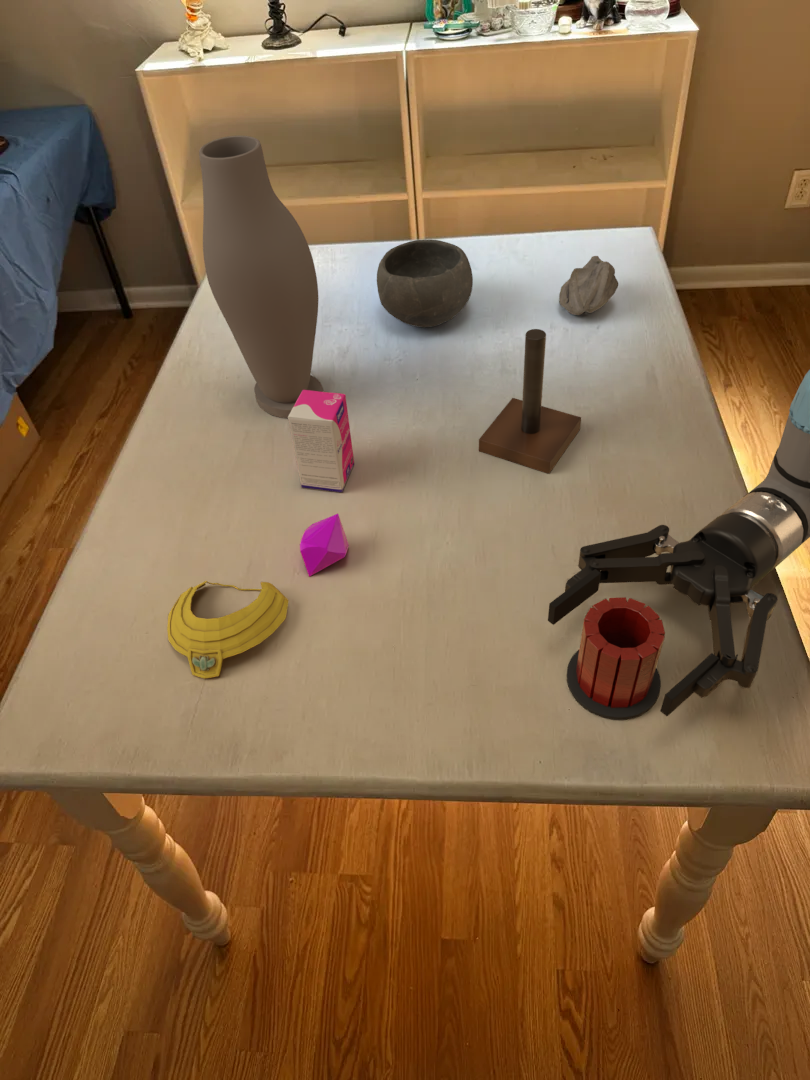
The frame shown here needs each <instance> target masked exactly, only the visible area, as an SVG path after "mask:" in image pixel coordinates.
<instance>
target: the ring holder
mask: <svg viewBox="0 0 810 1080" xmlns="http://www.w3.org/2000/svg"><path fill="white" fill-rule="evenodd" d="M524 336H525V339H524V360H523V380H522V381H523V382H522V383H523V384H522V399H519V398H517V397H516V398H515V397H512V398H511V399H510V400H509V402H508V403H507V404H506V405H505V407H504V408H503V409H502V410H501V411H500V412H499V414H498V415H497V416H496V417H495V418H494V420H493V421H492V423H490V425H489V426H488V427H487V429H486V430H485V431H484V432H483V434H482V435H481V436H480V437H479V438H478V451H479V452H481V453H483V454H487V455H490V456H493V457H496V458H499V459H502V460H505V461H508V462H512V463H513V464H518V465H520V466H524V467H527V468H530V469H533V470H536V471H540V472H542V473H545V474H548V475H549V474H551V472H552V471H553V470H554V468H555V466H556V465H557V463H558V462H559V460H560V459H561V457H562V456H563V454H564V453H565V452H566V450H567V449H568V447H569V446H570V445H571V443H572V442H573V440H574V439H575V437H576V436H577V434H579V432H580V430H581V425H582V417H581V416H578V415H575V414H572V413H567V412H564V411H561V410H557V409H553V408H551V407H547V406H544V405H542V402H543V385H544V373H545V372H544V371H545V357H546V343H547V333H546V331H545V330H543V329H541V328H533V329H532V328H531V329H529V330H527V331H526V332H525V335H524Z"/></svg>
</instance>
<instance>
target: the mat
mask: <svg viewBox="0 0 810 1080" xmlns="http://www.w3.org/2000/svg"><path fill="white" fill-rule="evenodd" d="M578 655H579V649H578V650H576V651H575V653H574V654H572V657H571V658H570V659H569V662H568V664H567V668H566V682H567V686H568V690H569V692H570V693H571V696H572V697H573V699H574V700H575V701H576V702H577V703H578V704H579V705H580V706H581V707H583V709H585V710H586V711H587V712H589V713H592V714H593V715H595V716H598V717H601V718H604V719H608V720H613V721H614V720H616V721H624V720H625V721H626V720H630V719H634V718H637V717H640V716H641V715H645V713H647V712H649V711H650V710H651V709H652V708H653V706H654V705H655V704H656V702H657V700H658V698H659V695H660V692H661V686H662V685H661V684H662V683H661V682H662V681H661V676H660V672H659V670H658V668H657V667H656V670H655V673H654V677H653V680H652V684H651V687H650V689H649V691H648V693H647V695H646V697H645V696H644V699H643V700H641V701H640V702H638V703H636V704H634V705H633V706H630V705H629V704H628V707H621V708H611V705H610V703H609V705H608V707H607V706H604V705H602V704H600V703H598V702H595V701H593V700H592V698H593V697H591V698H589V697H588V696H587V695H586V694H585V692H584V691H583V690H582V689H581V688H580V684H579V683H578V679H577V673H576V668H577V662H578Z"/></svg>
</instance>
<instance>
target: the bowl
mask: <svg viewBox="0 0 810 1080" xmlns="http://www.w3.org/2000/svg"><path fill="white" fill-rule="evenodd" d="M473 285H474V277H473V270H472V266H471V262H470V261H469V259H468V256H467V254H466V253H465V251H464V250H463V249H462V248H461V247H460V246H458V245H455V244H454V243H450V242H446V241H444V240H439V239H415V240H410V241H407V242H404V243H401V244H398V245H396V246H394V247H392V248H390V249H388V251H386V252H385V254H384V255H383V256H382V258H381V259H380V261H379V264H378V267H377V270H376V287H377V294H378V299H379V301H380V304H381V306H382V307H383V309H384V310H385V311H386V312H387V313H388V314H389V315H390V316H392V317H393V318H395V319H396V320H398V321H400V322H401V323H404V324H406V325H409V326H412V327H416V328H417V327H418V328H432V327H436V326H437V327H438V326H440V325H441V324H445V323H446V322H448V321H450V320H452V319H453V318H455V317H456V316H457V315H458V314H460V313H461V312H462V310H463V309H464V308H465V307H466V305H467V303H468V301H469V299H470V297H471V294H472V291H473Z"/></svg>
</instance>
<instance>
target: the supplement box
mask: <svg viewBox="0 0 810 1080" xmlns="http://www.w3.org/2000/svg"><path fill="white" fill-rule="evenodd" d="M349 420H350V419H349V411H348V405H347V395H346V394H345V393H339V392H329V391H328V392H327V391H323V392H319V391H310V390H302V392H301V394H300V395H299V397H298V399H297V401H296V403H295V405H294V407H293V408H292V410H291V412H290V414H289V416H288V418H287V421H288V426H289V431H290V435H291V441H292V446H293V451H294V456H295V460H296V466H297V471H298V476H299V483H300V488H301V489H307V490H314V491H326V492H331V493H333V492H334V493H343V492H344V489H345V487H346V484H347V481H348V479H349V477H350V474H351V472H352V470H353V468H354V466H355V457H354V451H353V449H354V448H353V443H352V436H351V434H352V433H351V428H350V427H351V426H350V421H349Z"/></svg>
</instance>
